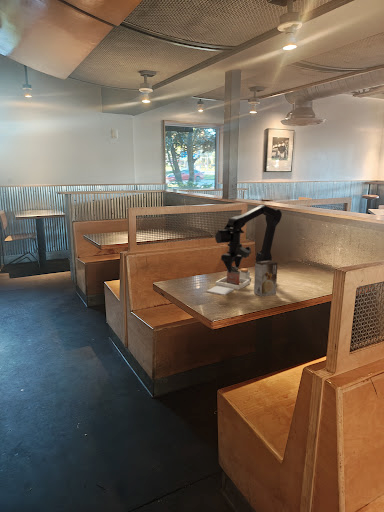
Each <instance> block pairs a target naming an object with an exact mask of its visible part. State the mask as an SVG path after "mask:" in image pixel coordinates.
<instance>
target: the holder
mask: <svg viewBox="0 0 384 512" xmlns="http://www.w3.org/2000/svg"><path fill="white" fill-rule="evenodd" d="M250 273H251V271H250V270H248V272H247V273H244V272H241V271H240V278H239V284H240V285H234V284H229V283H226V281H227V275H226V276H224V277H222V278H220V279H218V280H216V281H215V286H221V287H226V288H231V289H234V290H239V291H240V290H241V289H243V288H244V287H246V286H248V285H249V284H250V283H251V280H252V277H251V276H250Z"/></svg>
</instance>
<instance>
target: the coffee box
mask: <svg viewBox="0 0 384 512" xmlns="http://www.w3.org/2000/svg"><path fill="white" fill-rule="evenodd" d="M277 277H278V262H276V261H273V260H272V261H270V260H268V261H260V262H256V261H255V263H254V278H253V279H254V281H253V283H254V285H253V293H254V294H255V295H258V296H259V297H267V296H271V295H276V294H277V279H278V278H277Z"/></svg>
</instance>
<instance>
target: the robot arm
mask: <svg viewBox="0 0 384 512" xmlns="http://www.w3.org/2000/svg"><path fill="white" fill-rule="evenodd" d="M282 214H283V213H282V211H281V210H280V209H275V208H272V207H270V206H267V205H266V204H265V205H264V204H259V205H258V206H255V208H252V209H250V210H249V211H246V212H245V213H243V214H241V215H235V216H231V217H230V218H229V219H228V221H227V223H226V225H225V226H224V228H223V229H217V232H216V233H215V235H214V237H215V238H214V239H215V242H216V243H217V244H224V243H227V246H228V251H226V253H223V254H222V255H221V256H220V260H221V261H222V262H223V264H224V265H225V268H226V271H227V270H228V272H229V273H231V268H232V266H233V263H234V264H235V265H234V266H236V267H237V268H238V269H240V265H241V262H242V260H243V258H245V259H246V258H248V257H249V256H250V254H251V253H252V248H251V247H250V246H246V247H243V244H242V243H241V234H244V233H245V231H244V230H243V229H242V228H244V227H245V226H246V225H247V223H249V222H250V221H252V220H254V219H255V218H257V217H260V216H261V215H264V216H265V222H266V227H265V232H264V238H263V242H262V246H261V250H260V251H259V252H257V253H256V257H255V262H260V261H268V260H270V261H273V257H272V253H271V251H272V246H273V242H274V237H275V233H276V228H277V226H278V225H279V223H280V221H281V219H282V217H283V216H282Z"/></svg>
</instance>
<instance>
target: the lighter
mask: <svg viewBox="0 0 384 512" xmlns="http://www.w3.org/2000/svg"><path fill="white" fill-rule="evenodd" d="M226 276H227V281H225V283H229V284H234V285H240V284H241V283H240V282H239V278H240V271H239V268H237V267H236V266H235V265H232V268H231V273H229V272H228V270H227V269H226Z"/></svg>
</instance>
